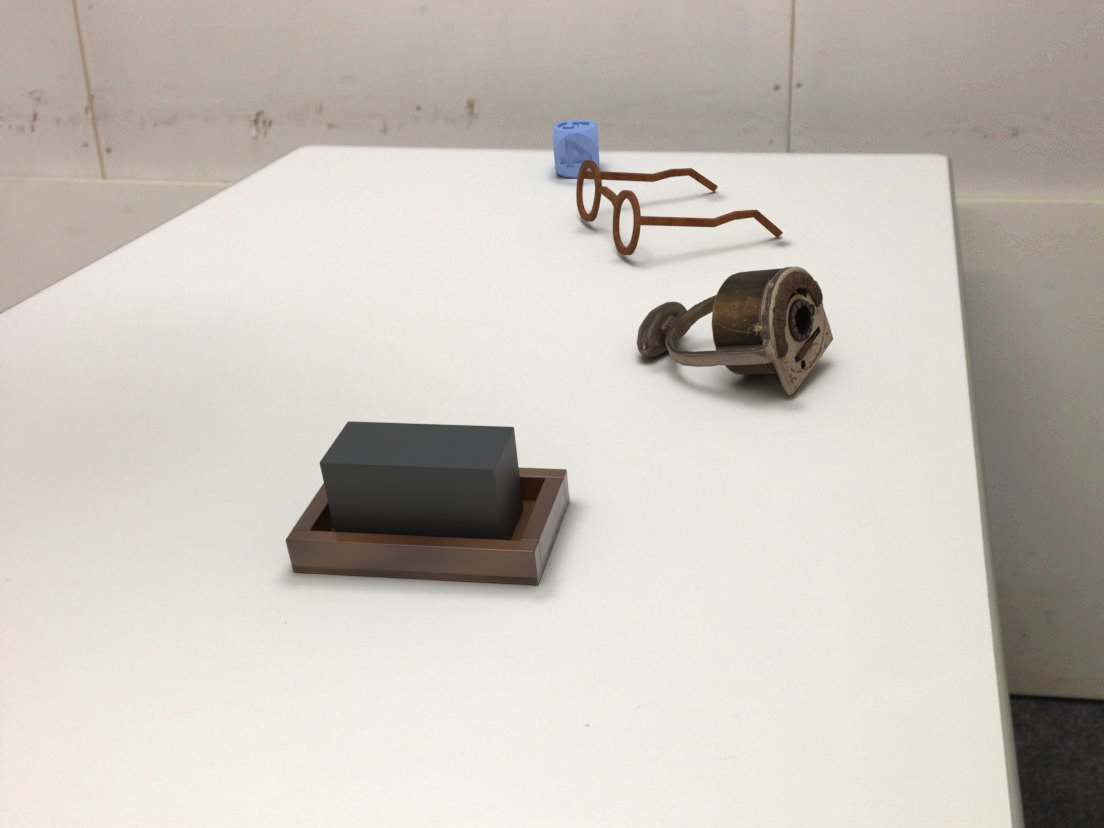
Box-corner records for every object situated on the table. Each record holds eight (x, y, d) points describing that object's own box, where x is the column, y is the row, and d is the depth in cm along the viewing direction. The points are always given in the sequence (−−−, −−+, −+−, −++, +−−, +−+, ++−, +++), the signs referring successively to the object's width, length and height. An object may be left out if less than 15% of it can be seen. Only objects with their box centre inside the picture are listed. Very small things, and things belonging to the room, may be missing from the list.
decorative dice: (600, 176, 115) (597, 130, 113) (555, 179, 115) (552, 133, 113) (599, 163, 118) (596, 117, 116) (556, 165, 118) (552, 120, 116)
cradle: (292, 572, 66) (284, 539, 65) (345, 490, 72) (338, 459, 71) (538, 585, 64) (534, 552, 63) (570, 500, 71) (567, 468, 69)
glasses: (574, 216, 107) (569, 155, 104) (716, 190, 111) (715, 131, 108) (631, 268, 97) (628, 202, 94) (785, 238, 101) (786, 174, 98)
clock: (524, 507, 69) (514, 425, 66) (504, 554, 66) (493, 468, 63) (365, 501, 70) (348, 419, 67) (337, 546, 67) (318, 462, 64)
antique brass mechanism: (731, 344, 73) (861, 264, 76) (602, 261, 81) (724, 192, 84) (744, 440, 78) (864, 362, 81) (622, 354, 86) (736, 285, 89)
